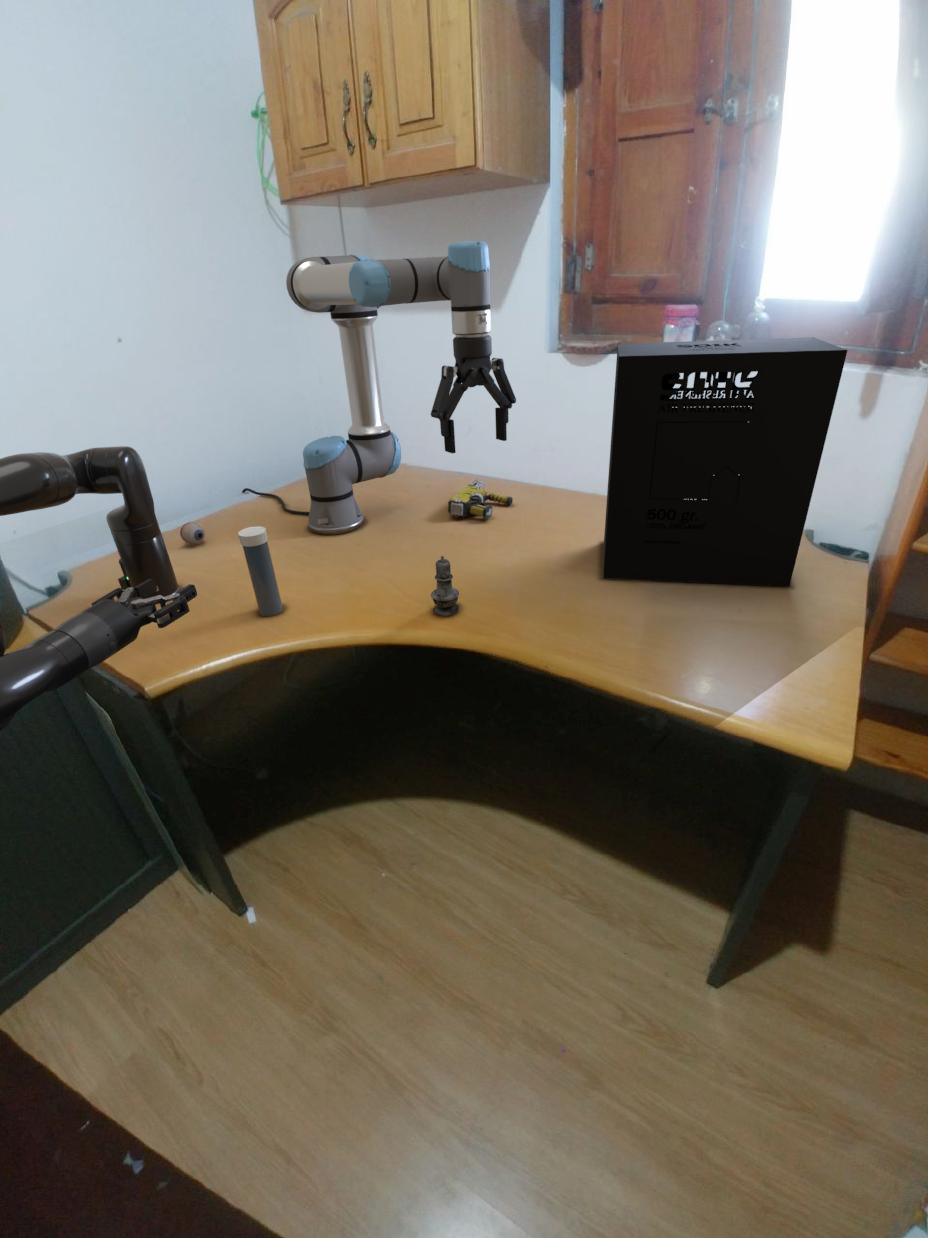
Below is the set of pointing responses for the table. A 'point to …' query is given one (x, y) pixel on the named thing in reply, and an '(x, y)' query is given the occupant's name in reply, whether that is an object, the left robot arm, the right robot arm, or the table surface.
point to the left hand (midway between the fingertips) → (173, 586)
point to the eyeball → (192, 533)
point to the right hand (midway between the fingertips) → (476, 445)
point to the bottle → (263, 579)
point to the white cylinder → (253, 536)
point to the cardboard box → (716, 458)
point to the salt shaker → (444, 590)
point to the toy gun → (475, 501)
